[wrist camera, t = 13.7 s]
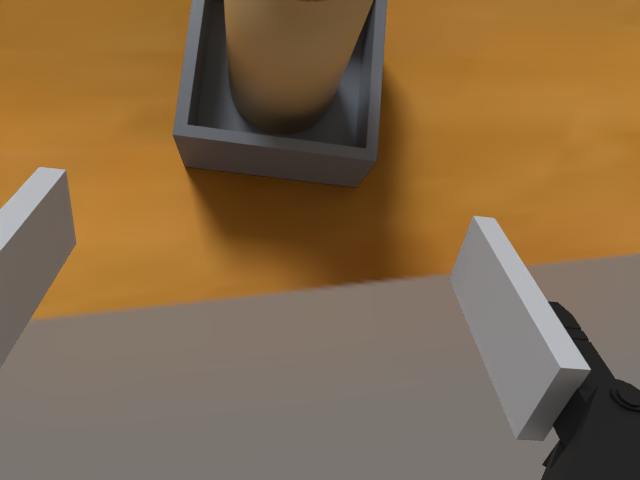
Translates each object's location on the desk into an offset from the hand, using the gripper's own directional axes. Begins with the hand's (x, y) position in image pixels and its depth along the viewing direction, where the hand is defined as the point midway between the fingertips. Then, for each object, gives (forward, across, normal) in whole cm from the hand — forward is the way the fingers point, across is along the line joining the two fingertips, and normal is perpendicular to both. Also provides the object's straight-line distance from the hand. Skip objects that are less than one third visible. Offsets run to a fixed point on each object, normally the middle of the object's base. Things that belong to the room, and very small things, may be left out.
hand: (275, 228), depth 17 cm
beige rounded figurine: (+10, 0, +2) cm, 10 cm away
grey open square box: (+11, 0, +1) cm, 11 cm away
